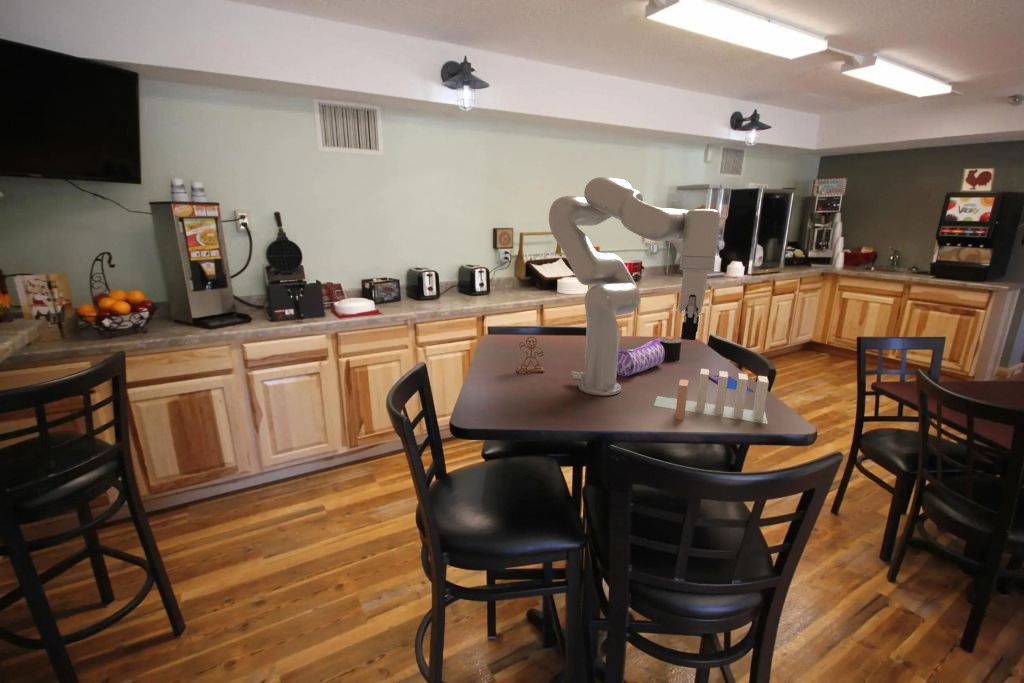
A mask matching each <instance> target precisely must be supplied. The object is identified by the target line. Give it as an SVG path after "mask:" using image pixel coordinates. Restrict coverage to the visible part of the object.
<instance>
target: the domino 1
mask: <svg viewBox="0 0 1024 683" xmlns="http://www.w3.org/2000/svg"><path fill="white" fill-rule="evenodd" d="M689 382H690V381H689V380H688V379H680V380H679V383H678V386H677V387H678V390H677V398H676V399H677V405H676V409H675V417H674V419H675V420H681V421H684V420H685V419H684V418H685V416H686V411H685V408H686V400H687V398H688V389H689ZM687 401H688V400H687Z"/></svg>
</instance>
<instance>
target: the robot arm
mask: <svg viewBox="0 0 1024 683" xmlns="http://www.w3.org/2000/svg"><path fill="white" fill-rule="evenodd" d="M583 194H584V196H578V195H568V196H567V195H565V196H561V197H559V198H557V199H555V200H554V201H553V202H552V204H551V205H550V208H549V213H548V224H549V229H550V231H551V234H552V236H553V238H554V240H555V241H556V242H557V244H558V246H559V247H560V248H561V250H562V252H563V254H564V256H565V259H566V260H567V262H568V264H569V267H571V270H572V272H573V274H574V276H575V278H576V279H577V281H578V282H579V283H580V284H581V285H583V286H592V287H590V288H589V289H588V290H587V292H586V293H585V295H584V308H585V309H584V310H585V317H586V318H585V319H586V332H585V333H586V335H585V336H586V338H585V352H584V353H585V355H584V371H581V372H578V371H574V370H572V371H571V372H570V378H571V379H572V380H575V381H579V382H578V386H577V387H578V389H579V390H580V391H581V392H583V393H585V394H589V395H594V396H602V397H603V396H604V397H605V396H606V397H607V396H612V395H613V396H614V395H617V394H619V393H620V392H622V386H621V384H620V383H618V382H617V377H618V376H617V375H618V374H617V363H618V351H619V348H620V347H619V346H620V327H619V324H618V322H617V318H616V316H622V315H627V314H630V313H633V312H635V311H636V310H638V308H639V306H640V304H641V293H640V290H639V287H638V285H637V283H636V282H635V280H634V278H633V277H632V275H631V273H630V271H629V269H628V267H627V265H626V264H625V262H624V261H623V259H622V258H621V257H619V255H617V254H615V253H613V252H599V251H597V250H596V249H595V247H594V246H593V243H592V242H591V240H590V238H589V237H588V236H587V234H586V233H585V232H584V231H582V230H581V229H580V228H579V227H580V226H585V227H586V226H587V227H590V226H597V225H599V224H601V223H603V222H605V221H607V220H608V219H611V218H615V219H617V220H619V221H620V223H621V224H622V225H623V227H624V228H625V229H626V230H628V231H629V232H632V233H633V234H635V235H637V236H640V237H642V238H644V239H646V240H648V241H649V240H650V241H653V242H663V241H664V242H666V241H668V242H679V241H680V242H681V241H682V242H681V252H680V253H681V254H680V262H679V270H680V271H683V276H682V281H681V290H680V297H679V298H680V299H679V307H678V312H679V313H682V312H684V315H683V321H682V324H681V334H680V335H681V336H680V340H685V341H686V340H688V341H695V340H696V339H697V332H698V328H699V319H700V316H699V315H700V314H701V312H702V309H703V306H704V302H705V297H706V292H707V290H706V289H707V285H708V284H707V282H708V276H709V275H708V274H709V272H715V263H716V255H717V254H716V253H717V248H718V237H719V230H720V229H719V228H720V222H721V220H720V219H721V214H720V212H719V211H718V210H717V209H713V208H700V209H699V208H698V209H697V208H696V209H690V210H688V209H682V208H670V207H669V208H668V207H667V208H666V207H665V208H663V207H657V206H655V205H652V204H649V203H646V202H644V201H643V200H644V199H643V195H642V193H641V191H639V190H637V189H635V188H633V187H632V185H631V184H630V183H629V182H628V181H627V180H625V179H624V178H623V179H622V178H617V177H606V176H605V177H604V176H599V177H595V178H593V179H591V180H589V182H587V184H586V185H585V188H584V193H583ZM578 226H579V227H578Z"/></svg>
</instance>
